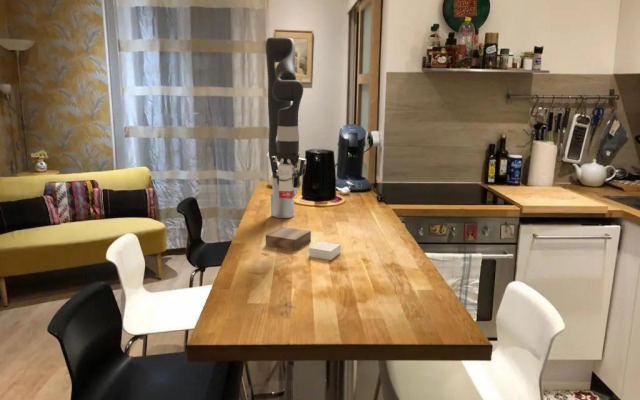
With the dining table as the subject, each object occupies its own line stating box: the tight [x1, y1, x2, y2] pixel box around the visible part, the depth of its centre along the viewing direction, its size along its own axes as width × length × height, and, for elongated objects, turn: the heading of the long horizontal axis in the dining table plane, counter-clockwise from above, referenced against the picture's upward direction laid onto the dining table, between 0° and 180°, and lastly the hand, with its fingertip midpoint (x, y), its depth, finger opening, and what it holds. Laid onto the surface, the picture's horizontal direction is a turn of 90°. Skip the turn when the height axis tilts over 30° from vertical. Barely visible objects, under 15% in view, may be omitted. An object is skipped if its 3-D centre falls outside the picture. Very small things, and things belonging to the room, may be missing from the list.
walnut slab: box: [265, 226, 312, 251], centre depth 187 cm, size 12×12×4 cm
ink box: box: [278, 163, 298, 199], centre depth 182 cm, size 9×5×12 cm, turn 168°
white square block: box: [308, 241, 342, 261], centre depth 176 cm, size 8×8×3 cm
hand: (288, 186), depth 183 cm, fingers closed on ink box, 5 cm apart
